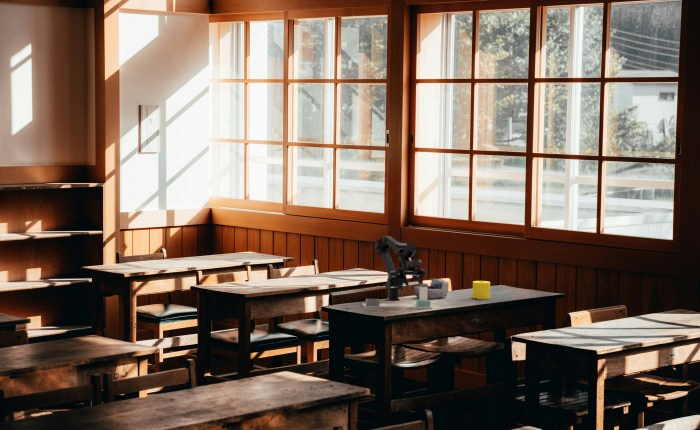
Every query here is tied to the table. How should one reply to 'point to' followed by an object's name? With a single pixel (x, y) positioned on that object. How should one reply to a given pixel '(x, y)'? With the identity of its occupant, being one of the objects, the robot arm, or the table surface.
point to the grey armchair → (435, 289)
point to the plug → (423, 292)
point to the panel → (411, 306)
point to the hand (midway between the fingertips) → (414, 285)
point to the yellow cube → (481, 289)
